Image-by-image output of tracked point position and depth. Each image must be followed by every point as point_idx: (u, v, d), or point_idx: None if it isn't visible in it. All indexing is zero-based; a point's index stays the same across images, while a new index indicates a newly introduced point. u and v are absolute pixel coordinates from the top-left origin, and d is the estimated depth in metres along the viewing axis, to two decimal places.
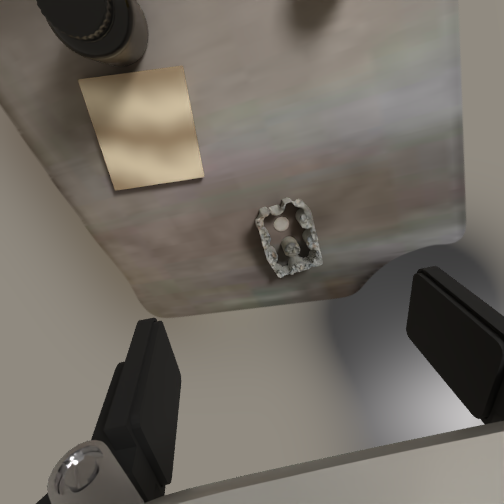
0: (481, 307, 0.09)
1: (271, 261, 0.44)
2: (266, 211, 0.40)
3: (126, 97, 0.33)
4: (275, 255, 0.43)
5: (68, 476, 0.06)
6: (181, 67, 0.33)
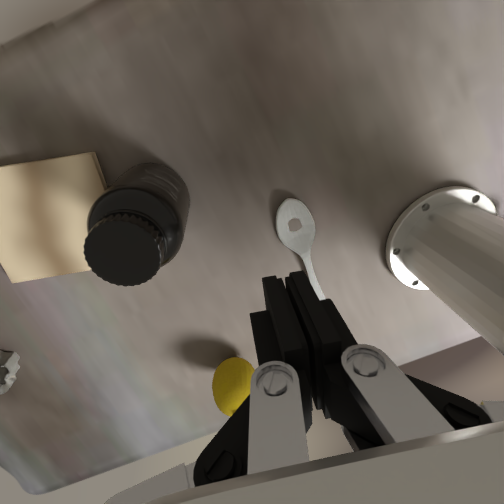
0: (316, 308, 0.09)
1: None
2: None
3: (84, 205, 0.28)
4: None
5: (265, 385, 0.08)
6: None
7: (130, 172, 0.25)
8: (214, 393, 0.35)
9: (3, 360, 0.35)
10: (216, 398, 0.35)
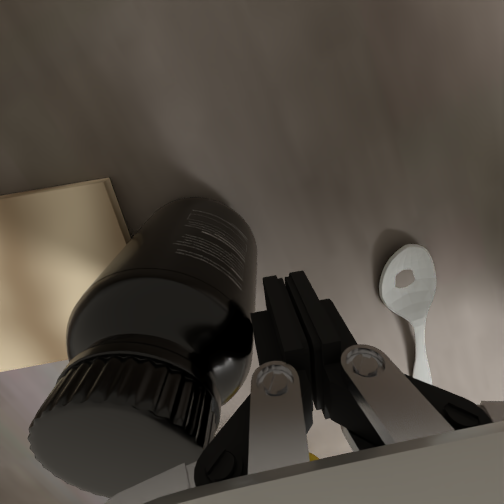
0: (315, 308, 0.09)
1: None
2: None
3: (92, 263, 0.18)
4: None
5: (266, 385, 0.08)
6: None
7: (160, 221, 0.14)
8: None
9: None
10: None
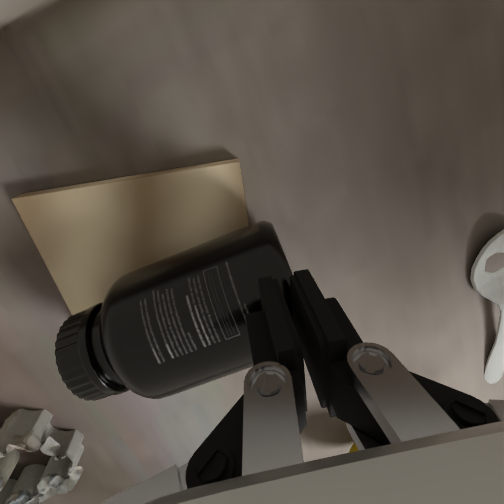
0: (321, 307, 0.09)
1: None
2: (39, 437, 0.23)
3: None
4: None
5: (259, 386, 0.08)
6: None
7: (199, 253, 0.14)
8: None
9: (63, 445, 0.25)
10: None
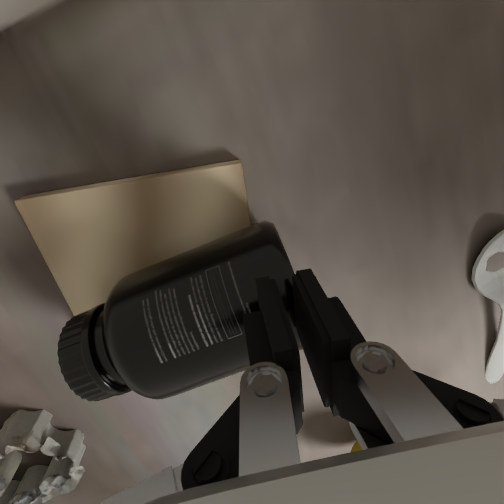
0: (324, 306, 0.09)
1: None
2: (38, 437, 0.23)
3: None
4: None
5: (255, 386, 0.08)
6: None
7: (201, 253, 0.14)
8: None
9: (63, 446, 0.25)
10: None
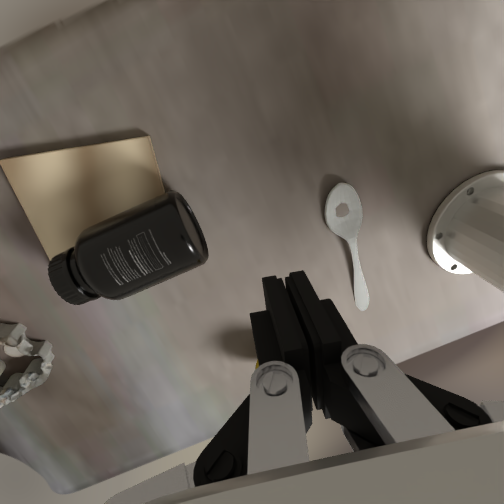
0: (316, 308, 0.09)
1: None
2: (16, 339, 0.32)
3: (137, 192, 0.28)
4: None
5: (265, 385, 0.08)
6: None
7: (131, 222, 0.23)
8: None
9: (36, 349, 0.33)
10: None
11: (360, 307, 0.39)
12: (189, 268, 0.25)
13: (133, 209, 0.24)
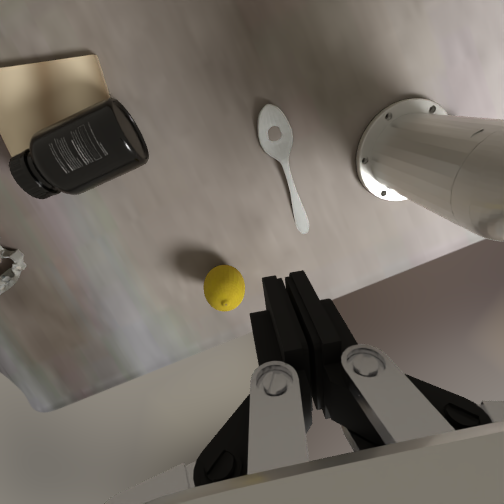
0: (316, 308, 0.09)
1: None
2: None
3: (88, 106, 0.32)
4: None
5: (265, 385, 0.08)
6: None
7: (75, 118, 0.28)
8: (205, 290, 0.40)
9: (8, 255, 0.38)
10: (207, 293, 0.39)
11: (302, 233, 0.44)
12: (126, 164, 0.30)
13: (79, 111, 0.29)
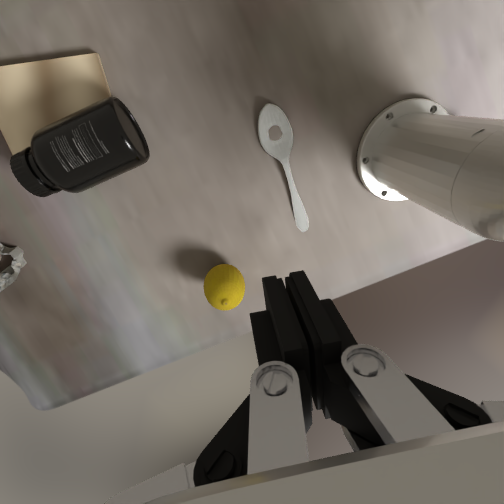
0: (315, 308, 0.09)
1: None
2: None
3: (89, 104, 0.33)
4: None
5: (265, 385, 0.08)
6: None
7: (76, 116, 0.28)
8: (205, 289, 0.40)
9: (7, 251, 0.38)
10: (207, 292, 0.39)
11: None
12: (127, 162, 0.30)
13: None
